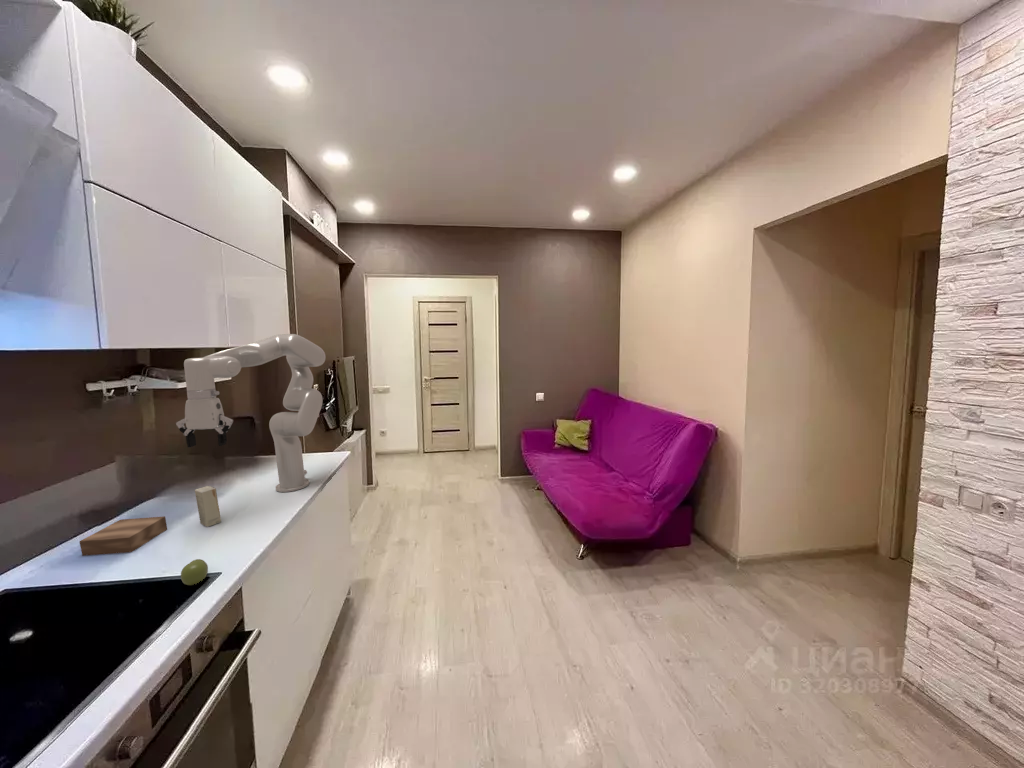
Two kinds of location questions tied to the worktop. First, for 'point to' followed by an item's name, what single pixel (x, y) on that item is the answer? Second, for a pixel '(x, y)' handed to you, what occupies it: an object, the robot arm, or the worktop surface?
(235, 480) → the worktop surface
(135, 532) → the walnut block
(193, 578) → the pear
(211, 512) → the skincare box
